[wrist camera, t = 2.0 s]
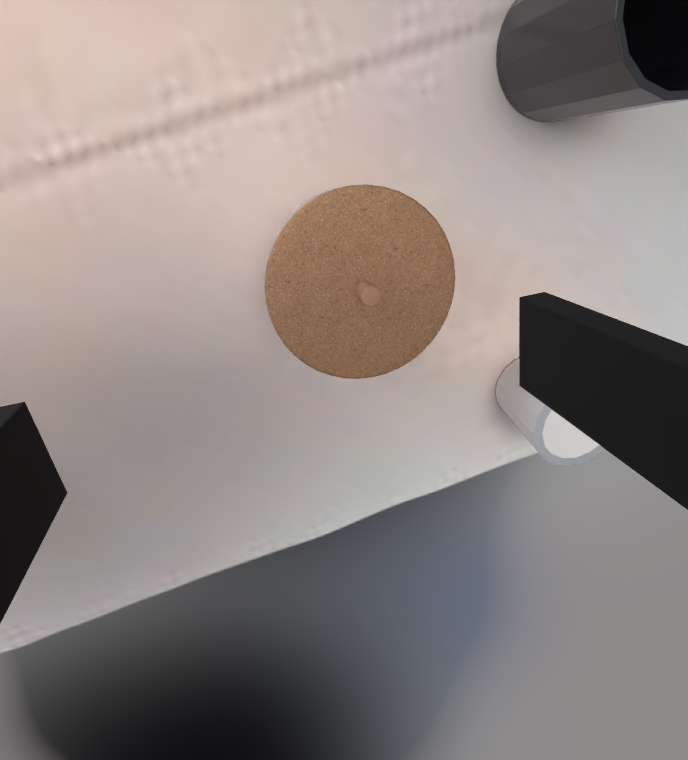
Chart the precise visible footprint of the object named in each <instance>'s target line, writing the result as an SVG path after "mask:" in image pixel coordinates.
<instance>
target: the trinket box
mask: <svg viewBox="0 0 688 760" xmlns="http://www.w3.org/2000/svg"><path fill="white" fill-rule="evenodd" d="M454 284H455V269H454V260H453V256H452V252H451V248H450V245H449V242H448V240H447V238H446V236H445V233H444V231H443V230H442V228H441V227H440V225H439V224H438V222H437V220H436V219H435V218H434V217H433V216H432V215H431V214H430V212H429V211H428V210H427V209H426V208H425V207H423V206H422V205H421V204H419V203H418V202H417V201H416V200H414V199H413V198H411V197H409V196H407V195H405V194H403V193H401V192H399V191H396V190H393V189H389V188H386V187H381V186H373V185H351V186H346V187H342V188H337V189H334V190H330V191H327V192H325V193H322V194H320V195H317V196H315V197H313V198H312V199H310V200H309V201H307V202H305V203H304V204H302V205H301V206H300V207H299V208H298V209H297V210H296V211H294V212H293V213H292V214H291V215H290V217H289V218H288V219H287V220H286V222H285V223H284V224H283V225H282V227H281V229H280V230H279V232H278V234H277V235H276V237H275V239H274V242H273V244H272V247H271V250H270V253H269V258H268V262H267V268H266V276H265V293H266V302H267V307H268V311H269V314H270V318H271V321H272V323H273V325H274V327H275V330H276V332H277V334H278V335H279V337H280V338H281V340H282V341H283V343H284V344H285V345H286V347H287V348H288V349H289V350H290V351H291V352H292V353H293V354H294V355H295V356H296V357H297V358H299V359H300V360H301V361H303V362H304V363H305V364H307V365H308V366H310V367H312V368H314V369H316V370H318V371H320V372H323V373H326V374H328V375H331V376H336V377H342V378H355V379H360V378H369V377H375V376H378V375H382V374H386V373H388V372H391V371H393V370H395V369H398V368H400V367H401V366H403V365H405V364H406V363H408V362H410V361H411V360H412V359H414V358H415V357H416V356H417V355H419V354H420V353H421V352H422V351H423V350H424V349H425V348H426V347H427V346H428V345H429V344H430V343H431V342H432V340H433V339H434V337H435V336H436V335H437V333H438V332H439V330H440V329H441V327H442V325H443V323H444V321H445V319H446V317H447V314H448V312H449V309H450V306H451V303H452V298H453V293H454Z"/></svg>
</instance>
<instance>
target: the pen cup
mask: <svg viewBox="0 0 688 760" xmlns="http://www.w3.org/2000/svg"><path fill="white" fill-rule="evenodd" d="M497 69H498V76H499V80H500V84H501V86H502V89H503V91H504V93H505V95H506V97H507V99H508V100H509V102H510V103H511V105H512V106H513V107H514V108H515V109H516V110H517V111H518V112H520V113H521V114H522V115H524V116H526V117H528V118H530V119H532V120H535V121H541V122H552V121H562V120H570V119H576V118H582V117H588V116H594V115H600V114H606V113H612V112H618V111H624V110H631V109H637V108H643V107H649V106H655V105H661V104H667V103H673V102H679V101H685V100H688V0H516V1H515V3H514V4H513V5H512V7H511V9H510V10H509V12H508V14H507V16H506V18H505V21H504V23H503V26H502V29H501V32H500V36H499V41H498V47H497Z"/></svg>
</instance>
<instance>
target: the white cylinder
mask: <svg viewBox="0 0 688 760" xmlns="http://www.w3.org/2000/svg"><path fill="white" fill-rule="evenodd" d="M495 394H496V398H497V403H498V405H499V406H500V407H501V408H502V410H503V411H504V412H505V413H506V414H507V416H508V417H509V418H510V419H511V420H512V421H513V423H514V424H515V425H516V426H517V427H518V429H519V430H520V431H521V432H522V433H523V435H524V436H525V437H526V438H527V439H528V441H529V442H530V443H531V444H532V445H533V447H534V448H535V449H536V450H537V451H538V453H539V454H540V455H541V456H542V457H543V459H544V460H545V461H548V462H550V463H553V464H555V465H558V466H566V465H577V464H579V463H581V462H584V461H586V460H589V459H591V458H593V457H594V456H595V455H597V454H598V453H599V452H600V451H602V450H603V449H604V448H603V447H602V446H601V445H599V444H598V443H596V442H595V441H594V440H592V439H591V438H590V437H588V436H587V435H586V434H584V433H583V432H582V431H580V430H579V429H577V428H576V427H575V426H573V425H572V424H571V423H569V422H568V421H567V420H565V419H564V418H563V417H561V416H560V415H558V414H557V413H556V412H554V411H553V410H552V409H550V408H549V407H548V406H546V405H545V404H544V403H542V402H541V401H539V400H538V399H537V398H535V397H534V396H533V395H531V394H530V393H529V392H527V391H526V390H524V389H523V388H522V387H520V386H519V358H518V359H516V360H514V361H513V362H512V363H511V364H510V365H508V366H507V367H506V368H505V369H504V371H503V372H502V374H501V376H500V377H499V379H498V381H497V387H496V392H495Z"/></svg>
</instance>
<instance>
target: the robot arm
mask: <svg viewBox="0 0 688 760" xmlns="http://www.w3.org/2000/svg"><path fill="white" fill-rule="evenodd" d="M519 386H520V387H522V388H523V389H524V390H526V391H527V392H529V393H530V394H531V395H533V396H534V397H535V398H537V399H538V400H539V401H541V402H542V403H544V404H545V405H546V406H548V407H549V408H550V409H552V410H553V411H554V412H556V413H557V414H558V415H560V416H561V417H563V418H564V419H565V420H567V421H568V422H569V423H571V424H572V425H573V426H575V427H576V428H577V429H579V430H580V431H582V432H583V433H584V434H586V435H587V436H588V437H590V438H591V439H592V440H594V441H595V442H596V443H598V444H599V445H601V446H602V447H603V448H605V449H606V450H607V451H609V452H610V453H611V454H613V455H614V456H615V457H617V458H618V459H620V460H621V461H622V462H624V463H625V464H626V465H628V466H629V467H630V468H632V469H633V470H635V471H636V472H637V473H639V474H640V475H641V476H643V477H644V478H645V479H647V480H648V481H649V482H651V483H652V484H653V485H655V486H656V487H658V488H659V489H660V490H662V491H663V492H664V493H666V494H667V495H668V496H670V497H671V498H672V499H674V500H675V501H677V502H678V503H679V504H681V505H682V506H683V507H685V508H686V509H688V346H686V345H683V344H680V343H678V342H675V341H672V340H670V339H667V338H665V337H662V336H659V335H657V334H654V333H651V332H649V331H646V330H643V329H641V328H638V327H635V326H633V325H630V324H628V323H625V322H622V321H620V320H617V319H614V318H612V317H609V316H606V315H604V314H601V313H598V312H596V311H593V310H591V309H588V308H585V307H583V306H580V305H577V304H575V303H572V302H569V301H567V300H564V299H562V298H559V297H556V296H554V295H551V294H548V293H546V292H543V293H538V294H533V295H528V296H524V297H520V336H519ZM66 494H67V491H66V489H65V487H64V485H63V483H62V480H61V478H60V476H59V474H58V472H57V470H56V468H55V466H54V463H53V461H52V459H51V457H50V455H49V453H48V451H47V448H46V446H45V444H44V442H43V440H42V438H41V436H40V433H39V431H38V429H37V427H36V425H35V423H34V421H33V418H32V416H31V414H30V412H29V410H28V408H27V406H26V403H25V402H22V403H17V404H12V405H8V406H3V407H0V623H1V621H2V619H3V617H4V615H5V613H6V611H7V609H8V607H9V605H10V604H11V602H12V600H13V598H14V596H15V594H16V592H17V590H18V588H19V586H20V584H21V582H22V580H23V578H24V576H25V574H26V572H27V570H28V568H29V566H30V565H31V563H32V561H33V559H34V557H35V555H36V553H37V551H38V549H39V547H40V545H41V543H42V541H43V539H44V537H45V535H46V533H47V531H48V529H49V527H50V526H51V524H52V522H53V520H54V518H55V516H56V514H57V512H58V510H59V508H60V506H61V504H62V502H63V500H64V498H65V496H66Z"/></svg>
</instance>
